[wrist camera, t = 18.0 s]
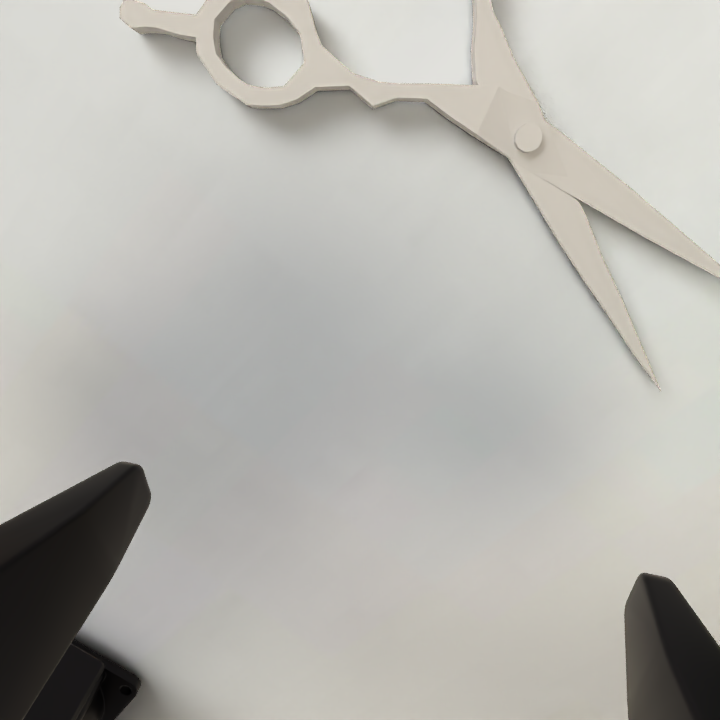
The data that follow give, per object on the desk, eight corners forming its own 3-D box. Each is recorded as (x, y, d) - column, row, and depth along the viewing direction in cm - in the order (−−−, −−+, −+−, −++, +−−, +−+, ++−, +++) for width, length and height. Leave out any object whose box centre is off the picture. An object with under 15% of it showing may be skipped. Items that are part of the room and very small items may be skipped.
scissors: (378, -389, 12) (871, 228, 16) (377, -354, 13) (848, 226, 16) (114, 13, 15) (590, 460, 18) (127, 21, 15) (581, 450, 19)
